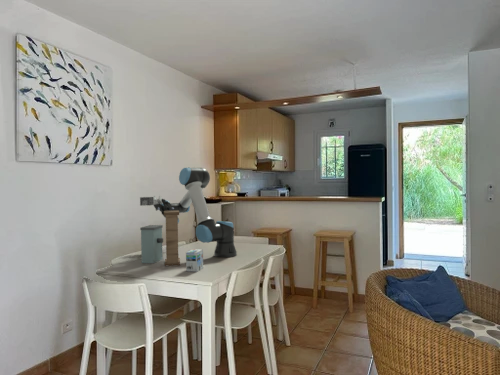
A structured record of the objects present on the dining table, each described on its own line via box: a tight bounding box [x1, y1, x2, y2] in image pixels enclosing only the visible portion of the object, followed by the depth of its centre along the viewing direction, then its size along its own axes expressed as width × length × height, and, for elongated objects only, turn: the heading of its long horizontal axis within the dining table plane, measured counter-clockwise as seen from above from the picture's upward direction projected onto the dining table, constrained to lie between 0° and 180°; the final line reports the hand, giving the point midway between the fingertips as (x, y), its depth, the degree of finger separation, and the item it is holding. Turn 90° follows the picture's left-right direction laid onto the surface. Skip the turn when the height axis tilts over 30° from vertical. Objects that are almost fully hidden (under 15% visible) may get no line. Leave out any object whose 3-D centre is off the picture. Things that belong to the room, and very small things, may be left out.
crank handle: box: [139, 196, 161, 207], centre depth 242 cm, size 28×6×5 cm, turn 171°
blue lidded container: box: [139, 224, 164, 264], centre depth 238 cm, size 11×15×22 cm
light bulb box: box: [185, 248, 204, 273], centre depth 210 cm, size 11×7×11 cm, turn 169°
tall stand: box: [163, 210, 181, 267], centre depth 230 cm, size 15×9×32 cm, turn 11°
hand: (156, 197), depth 246 cm, fingers closed on crank handle, 3 cm apart
